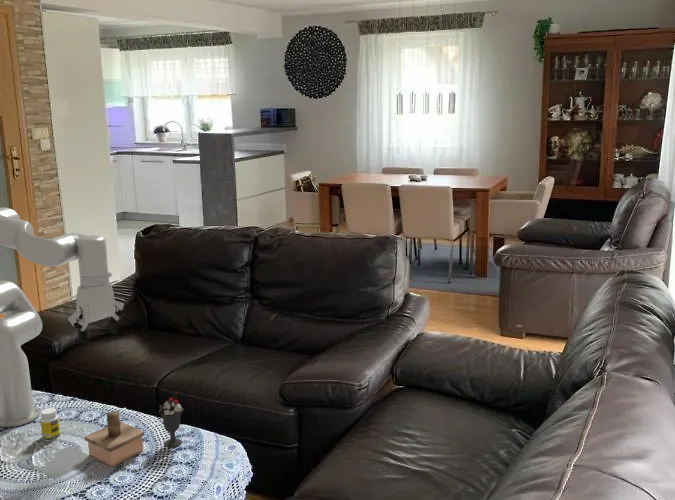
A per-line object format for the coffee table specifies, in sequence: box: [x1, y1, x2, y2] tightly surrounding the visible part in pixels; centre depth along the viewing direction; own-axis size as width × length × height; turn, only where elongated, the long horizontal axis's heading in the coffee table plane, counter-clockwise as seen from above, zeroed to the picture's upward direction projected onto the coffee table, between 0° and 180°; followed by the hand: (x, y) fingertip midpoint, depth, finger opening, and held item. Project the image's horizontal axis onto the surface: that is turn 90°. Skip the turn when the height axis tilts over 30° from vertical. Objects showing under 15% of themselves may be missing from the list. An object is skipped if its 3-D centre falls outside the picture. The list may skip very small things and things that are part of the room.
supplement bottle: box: [40, 407, 61, 442], centre depth 192 cm, size 5×5×8 cm
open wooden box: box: [87, 436, 144, 468], centre depth 183 cm, size 10×10×5 cm
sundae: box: [157, 391, 184, 449], centre depth 187 cm, size 7×7×15 cm
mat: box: [28, 445, 96, 480], centre depth 179 cm, size 12×12×1 cm
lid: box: [84, 410, 145, 452], centre depth 181 cm, size 11×11×7 cm
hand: (99, 338), depth 192 cm, fingers open, 9 cm apart
